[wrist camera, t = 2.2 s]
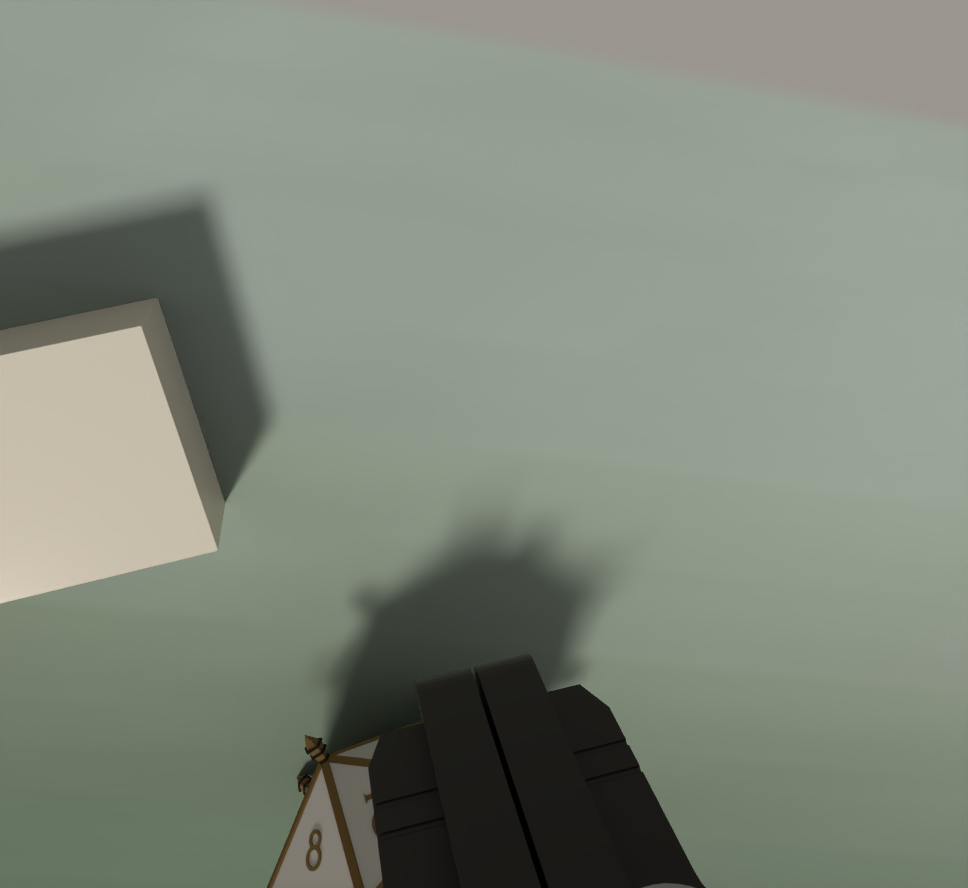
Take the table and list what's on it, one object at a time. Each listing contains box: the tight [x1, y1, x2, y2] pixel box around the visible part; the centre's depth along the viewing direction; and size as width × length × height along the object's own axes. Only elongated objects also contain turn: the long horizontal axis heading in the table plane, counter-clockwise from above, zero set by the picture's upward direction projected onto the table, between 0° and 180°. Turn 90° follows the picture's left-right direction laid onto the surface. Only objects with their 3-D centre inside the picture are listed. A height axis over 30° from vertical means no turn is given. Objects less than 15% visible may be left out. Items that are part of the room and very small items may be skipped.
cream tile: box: [0, 297, 225, 603], centre depth 22 cm, size 6×6×3 cm
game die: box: [267, 710, 422, 888], centre depth 26 cm, size 9×8×10 cm
